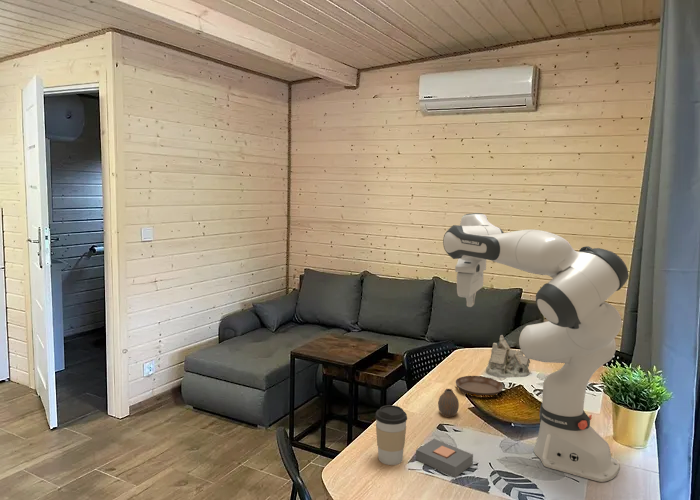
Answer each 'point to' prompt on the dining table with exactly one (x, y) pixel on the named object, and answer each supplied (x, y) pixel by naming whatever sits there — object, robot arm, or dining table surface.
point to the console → (446, 465)
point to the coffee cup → (390, 434)
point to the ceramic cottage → (507, 361)
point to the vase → (448, 403)
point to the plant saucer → (478, 385)
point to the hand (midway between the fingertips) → (470, 306)
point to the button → (444, 452)
